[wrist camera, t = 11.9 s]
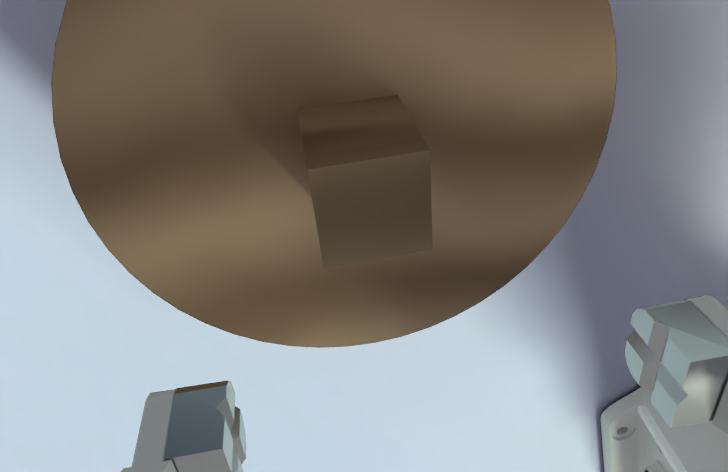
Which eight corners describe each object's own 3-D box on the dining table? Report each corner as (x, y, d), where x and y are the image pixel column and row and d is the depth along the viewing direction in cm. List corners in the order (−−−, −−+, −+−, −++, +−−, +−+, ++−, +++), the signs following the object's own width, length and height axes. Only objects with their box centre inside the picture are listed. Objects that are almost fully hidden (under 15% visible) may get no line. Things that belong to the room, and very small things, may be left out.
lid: (570, 290, 26) (630, 375, 22) (159, 364, 24) (141, 469, 20) (647, -225, 15) (788, -248, 11) (-58, -149, 14) (-184, -143, 10)
